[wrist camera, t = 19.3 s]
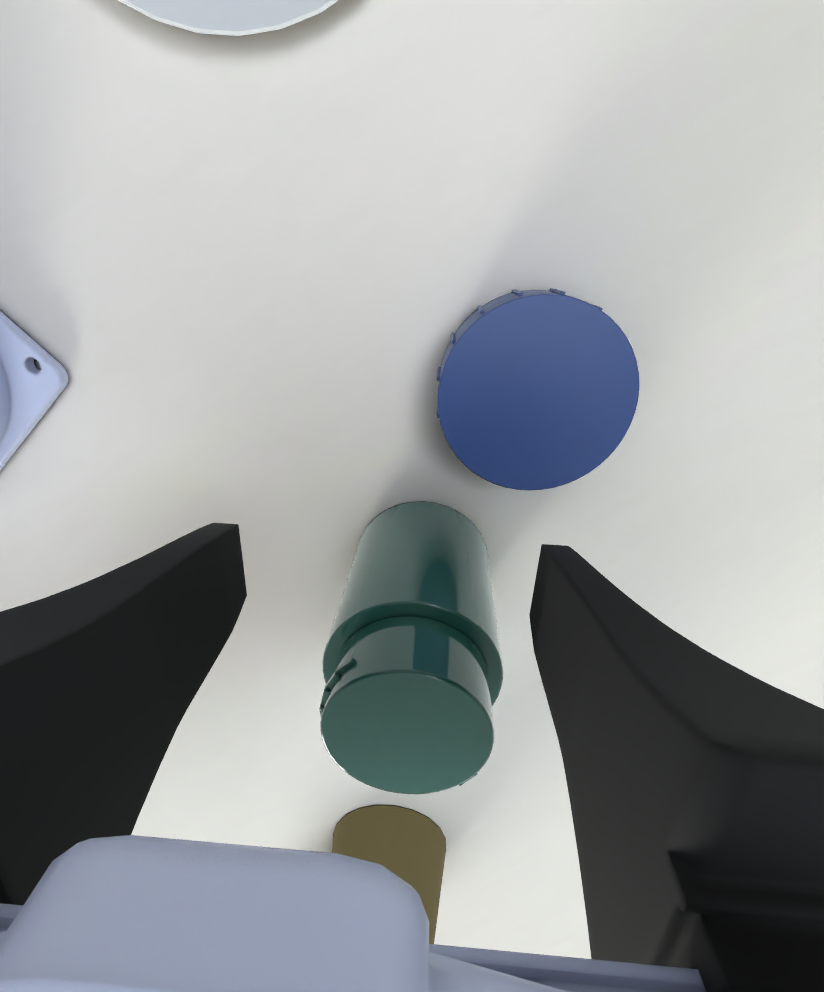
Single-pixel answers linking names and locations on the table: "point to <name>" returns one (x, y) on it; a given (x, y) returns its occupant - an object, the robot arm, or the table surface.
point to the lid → (536, 389)
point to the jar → (413, 654)
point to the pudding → (230, 14)
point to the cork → (397, 849)
